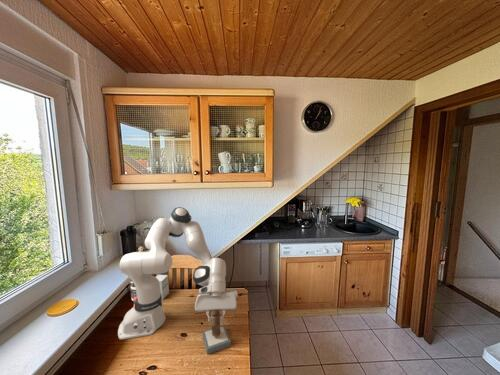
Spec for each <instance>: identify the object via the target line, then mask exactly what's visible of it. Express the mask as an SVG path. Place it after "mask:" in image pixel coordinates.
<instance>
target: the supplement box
mask: <svg viewBox="0 0 500 375" xmlns="http://www.w3.org/2000/svg"><path fill="white" fill-rule="evenodd" d="M155 277H156V278H157V279H158V280H159V282H160V293H161V295H162V301H163V300H164V299H165V298H167V296H168V295H169V294H170V287H169V285H170V284H169V275H168V274H156V276H155Z"/></svg>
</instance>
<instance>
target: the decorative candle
mask: <svg viewBox="0 0 500 375" xmlns="http://www.w3.org/2000/svg"><path fill="white" fill-rule="evenodd" d="M129 282H130V298H131V299H130V300H131V301H133V299H134V297H137V291H136V287H135V285H134V283H133V281H132V280H131V279H130V280H129Z"/></svg>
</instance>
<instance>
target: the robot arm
mask: <svg viewBox="0 0 500 375" xmlns="http://www.w3.org/2000/svg"><path fill="white" fill-rule="evenodd" d="M192 219H193V218H192V216H191V214H190V212H189V211H188V210H187V209H186V208H184V207H181V206H179V207H175V208H174V209H173V210H172V212H171V213H170V218H165V217H159V218H158V219H156V220H155V221H154V222H153V224H152V226H151V227H150V229H149V231H148V233H147V236H146V237H145V239H144V246H145V248H146V249H147V250H149V251H133V252H130V253H126V254H124V255H122V257H121V259H120V260H119V269H120V271H121V273H122V274H124V275H126V276H127V277H128V278H130V279H131V280H132V281H133V283H134V285H135V287H136V291H137V297H134V299H133V307H131V309H129V310H128V311H127V312H126V313H125V315H124V316H123V320H122V321H121V322H120V324H119V326H118V329H117V336H118V339H119V340H127V339H133V338H139V337H145V336H151V335H153V334H154V333H155V332H156V330H158V329H159V328H161V326H163V325H164V323H165V322H166V321H167V320H166V319H167V317H166V315H165V312H164V308H163V300H162V295H161V293H160V282H159V280H158V279H157V278H156V276H154V275H158V274H159V275H161V274H164V273H168V272H169V270H171V268H172V265H173V257H172V255H171V254H170V253H169V252H168V251H167V249H166V244H167V241H168V238H169V237H172V238H180V237H182V236H183V235H184V238H185V243H186V246H187V248H188V250H189V251H190V252H192V253H193V254H194V255H196V256H197V257H198V259H199V260H200V261H201V263H202V265H198V266H197V267H196V268H195V269H194V271H193V273H192V280H193V282H194V283H195V284H196V285H199V286H201V287H200V288H199V289H198V295H197V296H196V299H195V303H194V310H195V311H196V313H198V312H206V316H207V323H211V315H209V314H210V313H211V312H212V311H213V310H219V312H220V311H221V312H222V314H221V316H220V323H221V322H224V316H225V315H226V314H227V313H226V311H236V310H237V309H238V301H237V298H238V296H239V295H238V290H236V289H235V288H232V289H230V288H228V289H226V288H227V287H226V286H227V285H226V284H227V283H226V276H227V263H226V260H224V259H223V258H221V257H216V256H214V257H212V255H211V252H210V251H209V247H208V245H207V243H206V239H205V236H204V232H203V230H202V227H201V225H200V223H199V222H197V221H194V220H192Z"/></svg>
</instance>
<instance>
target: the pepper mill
mask: <svg viewBox="0 0 500 375" xmlns="http://www.w3.org/2000/svg"><path fill="white" fill-rule="evenodd" d="M210 313H211V315H210V317H211V322H210V323H211V329H212V335H213V336H215V337H216V336H219V335H220V326H221V322H220V317H221V313H220V311H219V310H213V311H210Z"/></svg>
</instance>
